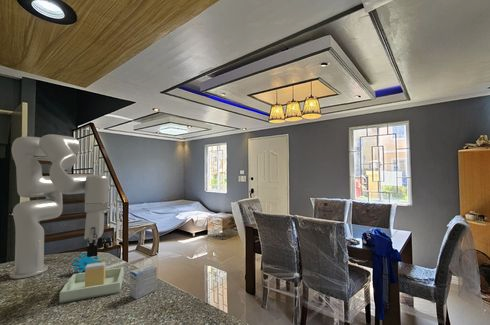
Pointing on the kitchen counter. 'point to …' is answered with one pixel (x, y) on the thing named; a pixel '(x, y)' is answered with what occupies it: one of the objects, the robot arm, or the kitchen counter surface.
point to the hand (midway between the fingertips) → (95, 252)
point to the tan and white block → (95, 274)
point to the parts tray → (78, 290)
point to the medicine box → (143, 281)
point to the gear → (85, 262)
